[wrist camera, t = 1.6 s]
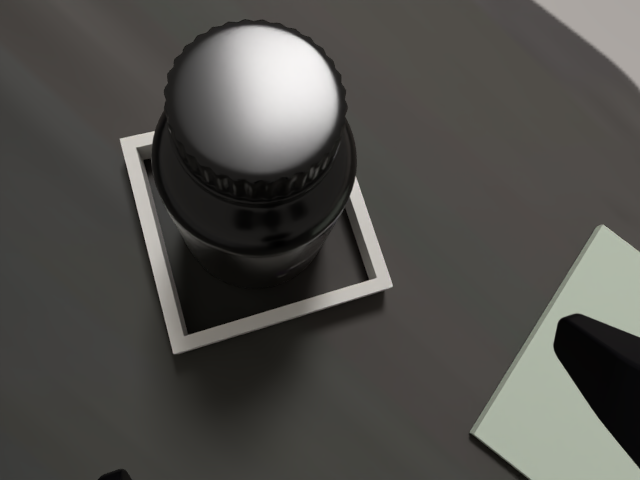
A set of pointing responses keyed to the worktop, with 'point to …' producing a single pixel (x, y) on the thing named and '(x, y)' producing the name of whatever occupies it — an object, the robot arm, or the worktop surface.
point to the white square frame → (181, 342)
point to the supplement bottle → (254, 151)
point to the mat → (566, 377)
